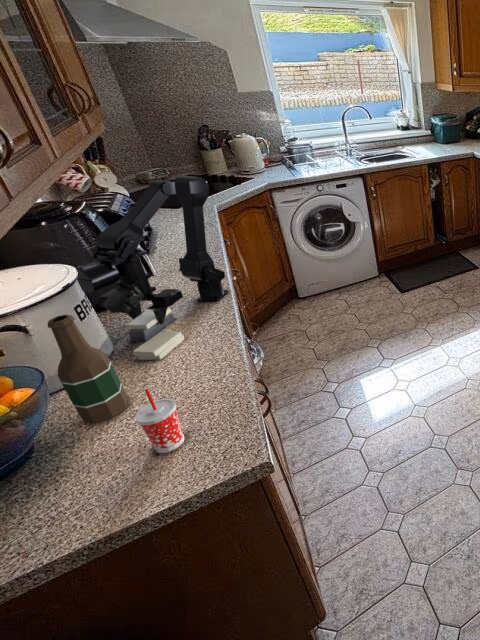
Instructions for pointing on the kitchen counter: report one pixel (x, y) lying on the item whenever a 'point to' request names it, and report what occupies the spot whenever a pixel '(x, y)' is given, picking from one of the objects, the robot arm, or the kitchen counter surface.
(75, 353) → the beer bottle
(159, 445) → the beverage cup
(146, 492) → the kitchen counter surface
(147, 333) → the dark grey rectangular block
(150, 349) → the cream flat block
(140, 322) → the white book
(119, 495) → the kitchen counter surface
